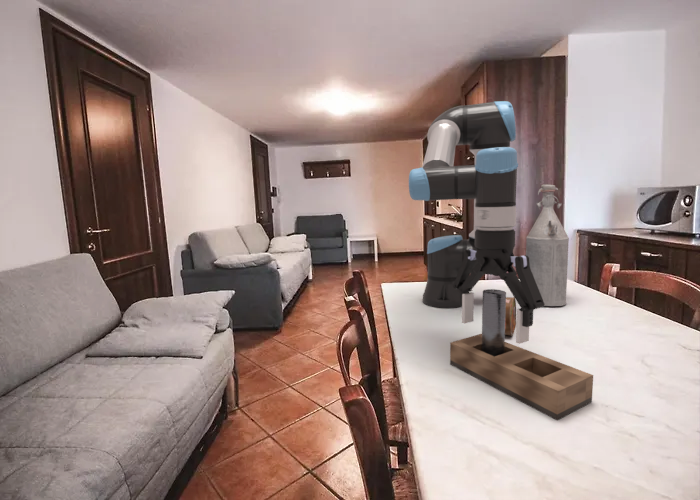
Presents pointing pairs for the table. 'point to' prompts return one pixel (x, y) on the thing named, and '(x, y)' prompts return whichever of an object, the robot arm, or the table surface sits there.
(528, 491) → the table surface
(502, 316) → the pin
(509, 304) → the tin
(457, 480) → the table surface
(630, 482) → the table surface
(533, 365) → the bore block
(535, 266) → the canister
